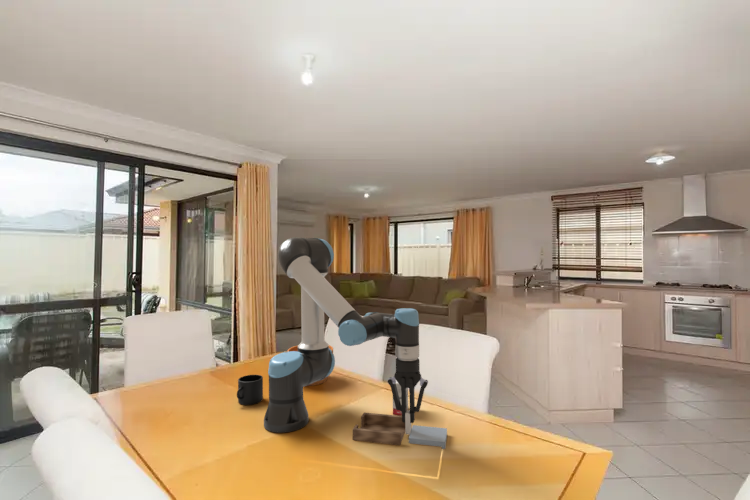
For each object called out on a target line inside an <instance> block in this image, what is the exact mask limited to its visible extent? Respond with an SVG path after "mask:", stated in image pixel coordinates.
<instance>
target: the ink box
mask: <svg viewBox="0 0 750 500" xmlns="http://www.w3.org/2000/svg"><path fill="white" fill-rule="evenodd" d="M396 387H397V391H398V395H399V399H400V403H401V405H402V400H401V386H400V385H399V383H398V382H397V380H396ZM406 394H407V409H406V410H409V388H406ZM392 415H396V416H402V412H401V411H400V410H396V406H395V402H394V398H393V397H392Z"/></svg>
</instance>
